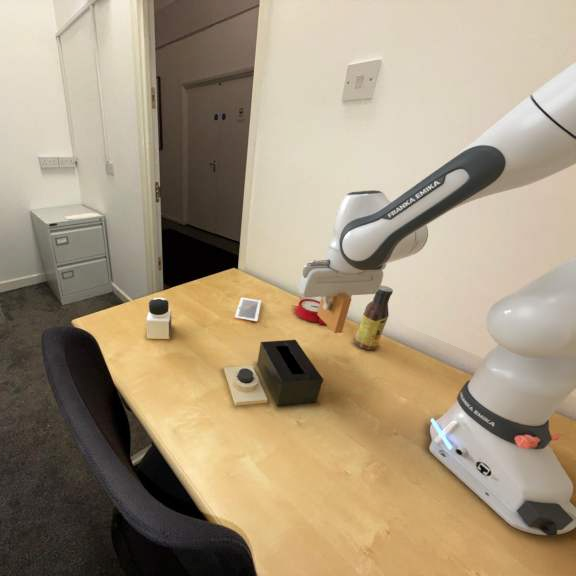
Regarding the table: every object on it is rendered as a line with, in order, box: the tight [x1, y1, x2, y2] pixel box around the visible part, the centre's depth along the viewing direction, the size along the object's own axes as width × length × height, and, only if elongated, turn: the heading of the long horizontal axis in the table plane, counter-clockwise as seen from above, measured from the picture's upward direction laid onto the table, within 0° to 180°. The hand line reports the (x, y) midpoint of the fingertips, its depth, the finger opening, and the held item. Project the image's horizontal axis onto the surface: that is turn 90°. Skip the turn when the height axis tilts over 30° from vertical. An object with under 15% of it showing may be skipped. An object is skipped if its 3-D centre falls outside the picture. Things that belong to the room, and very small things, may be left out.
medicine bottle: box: [145, 297, 172, 340], centre depth 94 cm, size 7×7×12 cm
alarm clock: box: [291, 297, 326, 325], centre depth 107 cm, size 10×6×15 cm
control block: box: [223, 365, 268, 406], centre depth 77 cm, size 12×8×3 cm, turn 8°
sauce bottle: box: [354, 285, 394, 351], centre depth 89 cm, size 7×6×20 cm
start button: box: [238, 368, 253, 384], centre depth 76 cm, size 4×4×2 cm
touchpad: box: [234, 296, 262, 322], centre depth 110 cm, size 8×15×2 cm, turn 163°
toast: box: [317, 294, 352, 334], centre depth 78 cm, size 9×2×10 cm, turn 7°
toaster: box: [256, 339, 324, 408], centre depth 77 cm, size 15×10×8 cm, turn 8°
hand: (332, 308), depth 78 cm, fingers closed on toast, 2 cm apart
